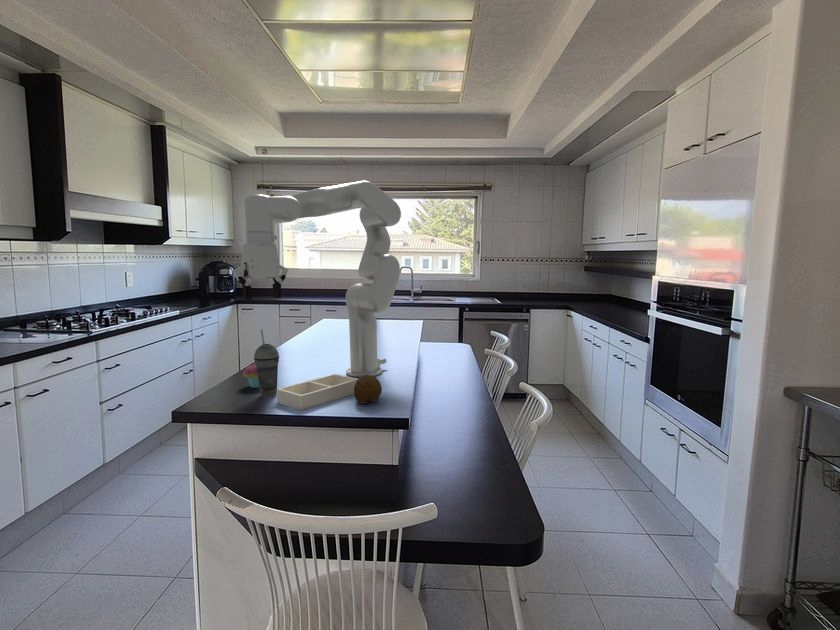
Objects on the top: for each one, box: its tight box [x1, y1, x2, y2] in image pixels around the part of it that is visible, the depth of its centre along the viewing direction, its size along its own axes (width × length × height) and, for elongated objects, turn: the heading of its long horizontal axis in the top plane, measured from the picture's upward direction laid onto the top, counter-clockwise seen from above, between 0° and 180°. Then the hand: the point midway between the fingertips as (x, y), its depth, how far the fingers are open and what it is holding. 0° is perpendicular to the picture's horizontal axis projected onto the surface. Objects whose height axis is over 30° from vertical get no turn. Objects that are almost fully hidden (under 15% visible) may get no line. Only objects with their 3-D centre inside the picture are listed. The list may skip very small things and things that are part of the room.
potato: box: [353, 375, 383, 404], centre depth 134 cm, size 8×12×8 cm, turn 19°
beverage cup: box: [253, 328, 280, 398], centre depth 141 cm, size 7×7×20 cm
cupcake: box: [242, 363, 259, 389], centre depth 152 cm, size 9×8×12 cm
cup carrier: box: [276, 373, 359, 411], centre depth 139 cm, size 22×11×4 cm, turn 141°
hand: (262, 298), depth 138 cm, fingers open, 9 cm apart
